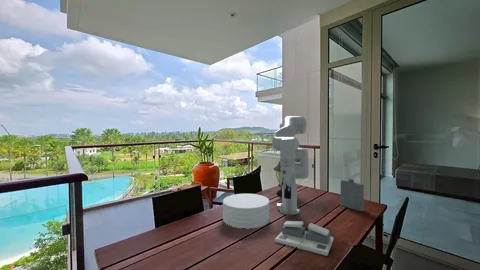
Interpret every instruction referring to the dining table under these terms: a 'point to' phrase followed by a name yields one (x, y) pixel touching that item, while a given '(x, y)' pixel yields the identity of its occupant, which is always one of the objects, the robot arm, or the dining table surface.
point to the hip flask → (352, 194)
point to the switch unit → (305, 239)
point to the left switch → (293, 223)
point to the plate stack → (246, 210)
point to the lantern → (278, 169)
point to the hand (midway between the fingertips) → (287, 198)
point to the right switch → (318, 229)
